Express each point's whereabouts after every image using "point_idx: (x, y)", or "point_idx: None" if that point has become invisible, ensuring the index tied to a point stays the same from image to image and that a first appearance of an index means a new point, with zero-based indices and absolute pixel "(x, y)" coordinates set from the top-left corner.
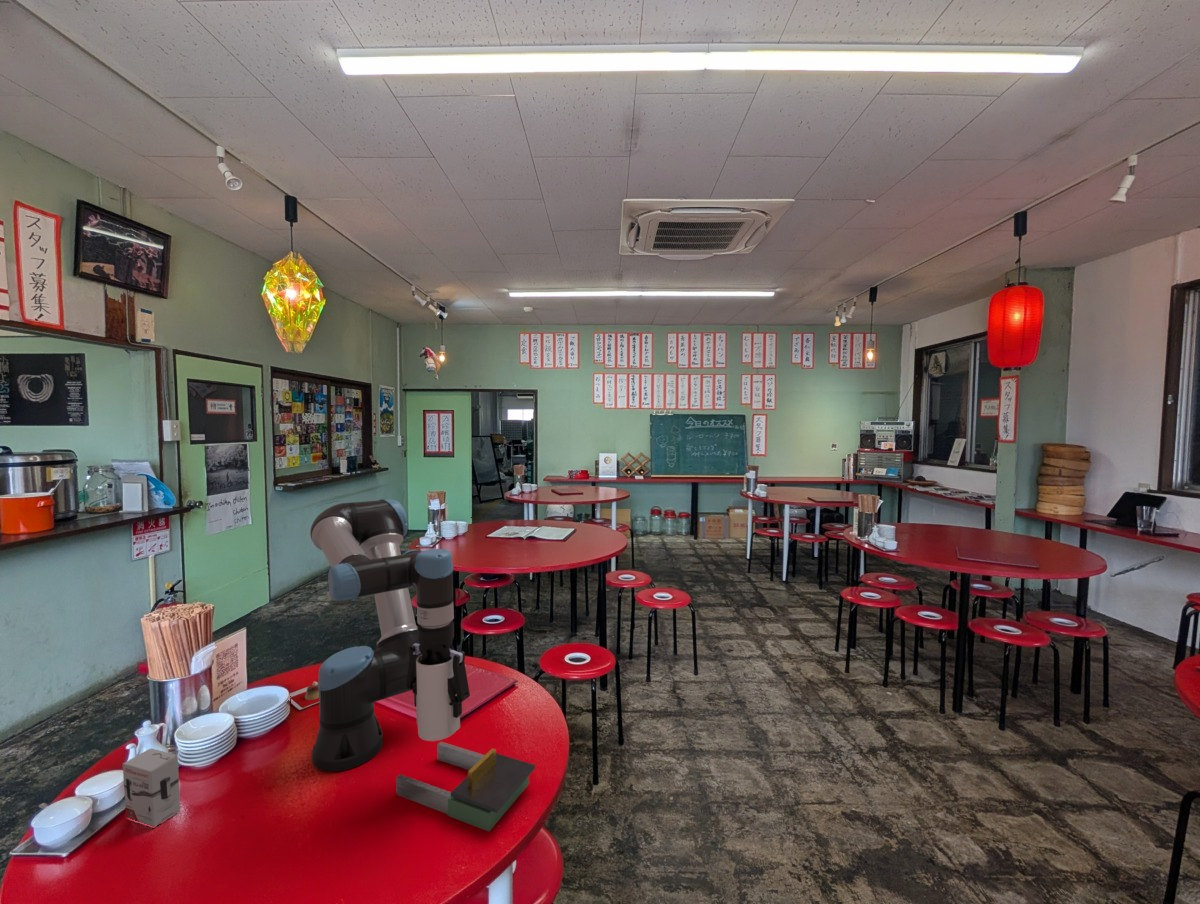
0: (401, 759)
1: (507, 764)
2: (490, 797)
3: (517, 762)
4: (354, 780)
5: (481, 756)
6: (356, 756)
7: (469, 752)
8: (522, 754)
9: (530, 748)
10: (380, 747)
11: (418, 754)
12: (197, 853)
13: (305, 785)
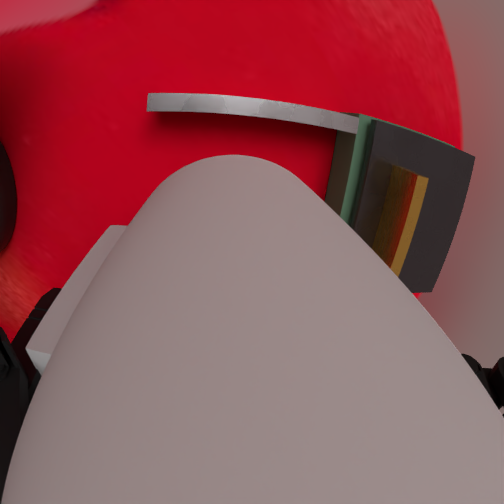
0: (68, 154)
1: (429, 166)
2: (418, 274)
3: (446, 154)
4: (45, 252)
5: (335, 121)
6: (2, 230)
7: (286, 111)
8: (382, 38)
9: (388, 16)
10: (4, 156)
11: (92, 117)
12: None
13: (4, 288)
